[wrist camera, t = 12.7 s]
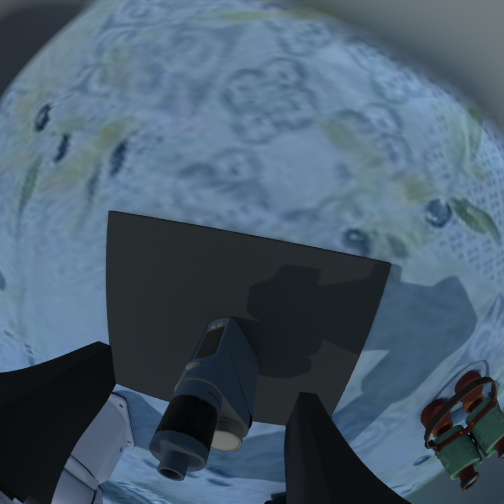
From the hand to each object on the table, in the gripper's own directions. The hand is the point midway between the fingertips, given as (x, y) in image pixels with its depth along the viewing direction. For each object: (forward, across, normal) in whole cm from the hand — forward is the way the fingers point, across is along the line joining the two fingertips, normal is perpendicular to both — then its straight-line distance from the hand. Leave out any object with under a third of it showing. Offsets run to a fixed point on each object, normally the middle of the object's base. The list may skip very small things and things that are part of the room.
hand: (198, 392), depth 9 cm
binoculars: (+10, -24, +9) cm, 27 cm away
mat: (+10, 0, +4) cm, 11 cm away
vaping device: (+10, 0, +4) cm, 10 cm away
